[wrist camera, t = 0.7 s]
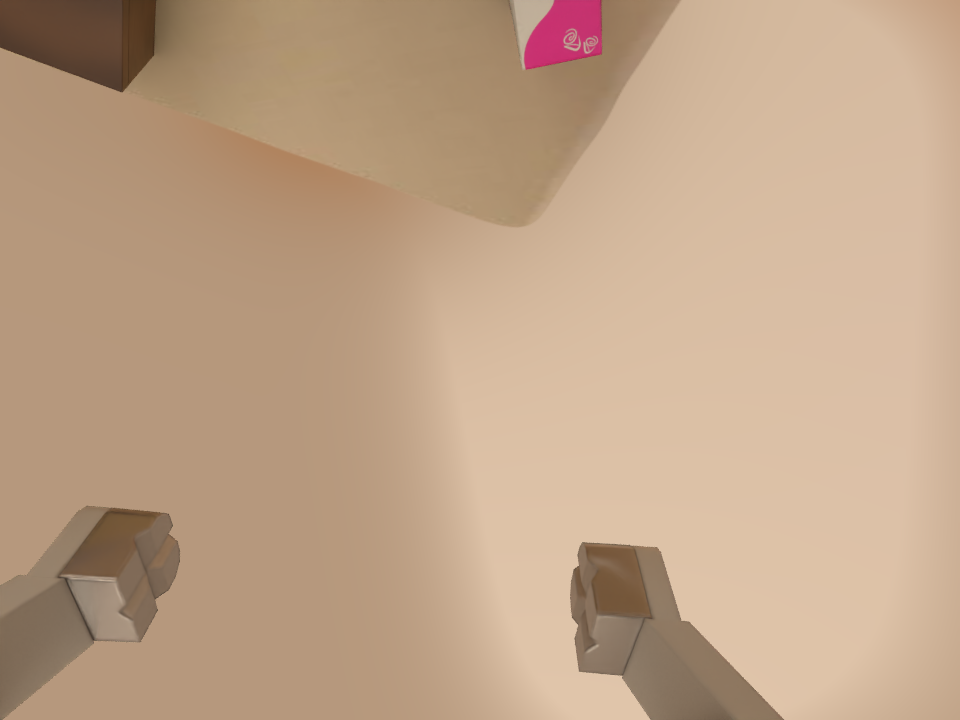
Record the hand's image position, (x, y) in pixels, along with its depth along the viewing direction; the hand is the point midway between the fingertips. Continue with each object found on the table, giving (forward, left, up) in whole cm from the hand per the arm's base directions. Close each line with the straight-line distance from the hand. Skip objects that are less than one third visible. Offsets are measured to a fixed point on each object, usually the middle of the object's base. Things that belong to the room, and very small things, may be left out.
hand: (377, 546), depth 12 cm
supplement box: (-1, +8, -48) cm, 49 cm away
